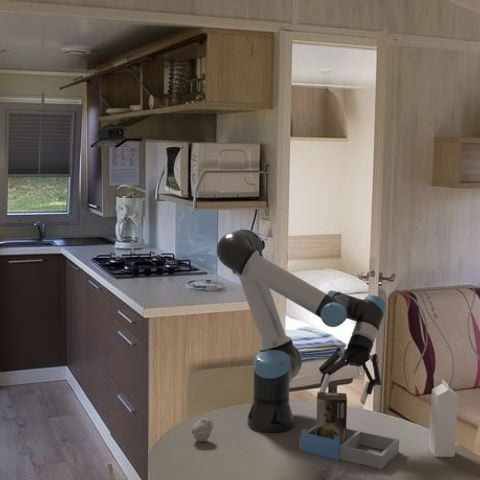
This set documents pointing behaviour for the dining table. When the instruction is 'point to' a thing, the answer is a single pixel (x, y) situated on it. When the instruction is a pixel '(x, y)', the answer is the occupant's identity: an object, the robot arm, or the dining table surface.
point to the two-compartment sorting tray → (351, 447)
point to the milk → (443, 421)
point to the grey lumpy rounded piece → (202, 429)
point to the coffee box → (331, 415)
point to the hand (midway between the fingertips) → (341, 398)
